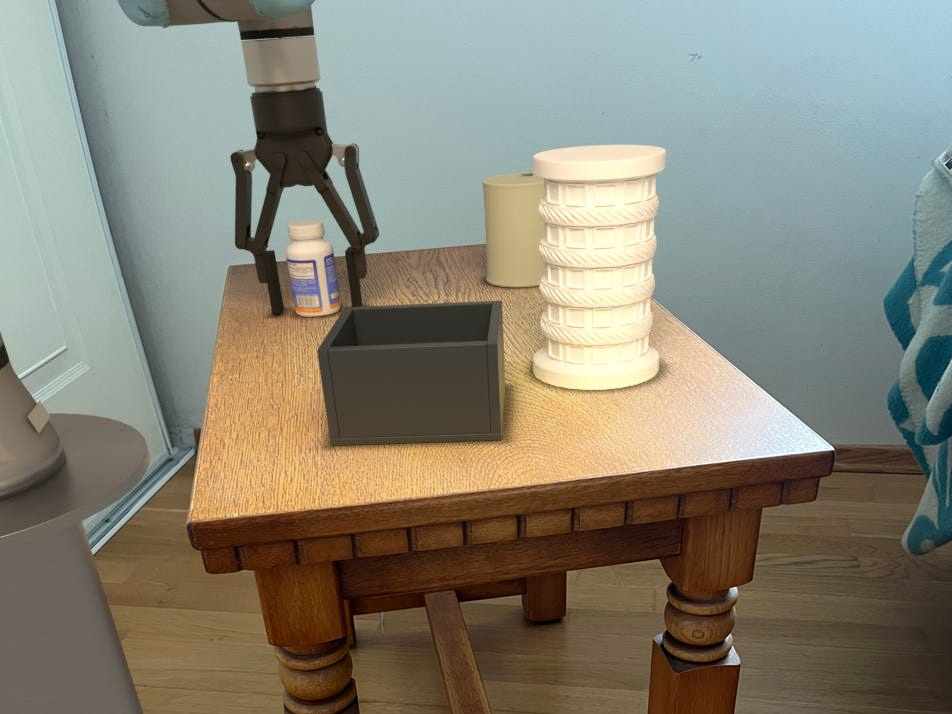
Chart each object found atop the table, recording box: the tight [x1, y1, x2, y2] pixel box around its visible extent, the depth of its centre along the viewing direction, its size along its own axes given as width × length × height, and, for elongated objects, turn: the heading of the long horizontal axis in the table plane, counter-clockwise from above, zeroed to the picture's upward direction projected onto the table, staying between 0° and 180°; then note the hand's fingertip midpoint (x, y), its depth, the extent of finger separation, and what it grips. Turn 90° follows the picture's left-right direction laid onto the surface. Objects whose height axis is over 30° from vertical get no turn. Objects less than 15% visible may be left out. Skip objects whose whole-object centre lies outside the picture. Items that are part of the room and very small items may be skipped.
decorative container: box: [532, 144, 667, 391], centre depth 82 cm, size 12×12×18 cm
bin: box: [316, 300, 506, 447], centre depth 77 cm, size 14×13×8 cm
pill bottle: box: [285, 219, 341, 318], centre depth 108 cm, size 5×5×10 cm
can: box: [482, 171, 545, 288], centre depth 115 cm, size 9×9×12 cm
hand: (317, 309), depth 110 cm, fingers open, 9 cm apart
